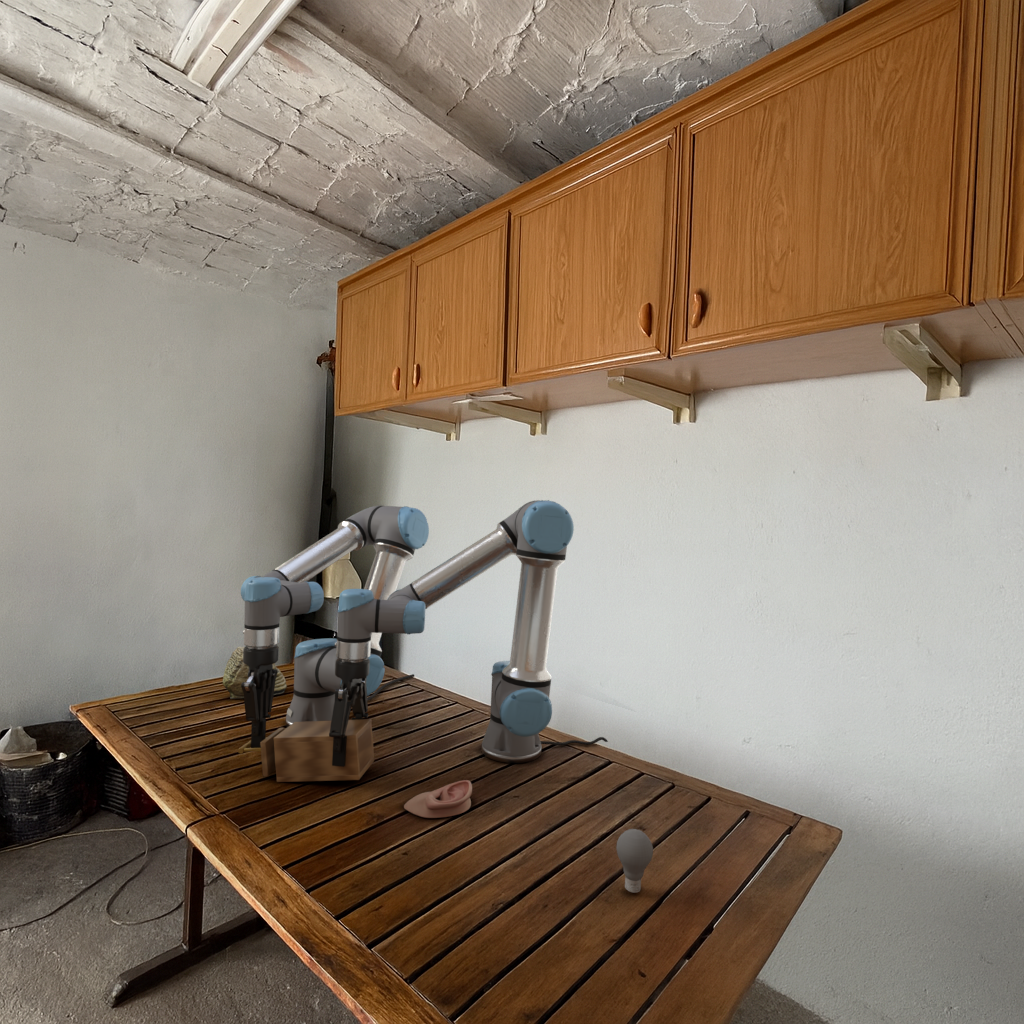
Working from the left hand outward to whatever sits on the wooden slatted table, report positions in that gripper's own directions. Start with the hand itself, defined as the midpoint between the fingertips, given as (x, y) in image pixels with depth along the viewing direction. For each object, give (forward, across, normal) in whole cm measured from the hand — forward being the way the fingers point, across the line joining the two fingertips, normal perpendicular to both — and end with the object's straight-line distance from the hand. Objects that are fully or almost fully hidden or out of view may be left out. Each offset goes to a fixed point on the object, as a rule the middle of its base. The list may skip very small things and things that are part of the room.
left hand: (258, 747), depth 145 cm
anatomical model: (+5, +10, +44) cm, 46 cm away
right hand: (0, 0, +21) cm, 21 cm away
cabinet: (+4, 0, +17) cm, 17 cm away
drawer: (+4, 0, +9) cm, 10 cm away
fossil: (+5, -50, -27) cm, 57 cm away
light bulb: (+6, +33, +82) cm, 88 cm away
